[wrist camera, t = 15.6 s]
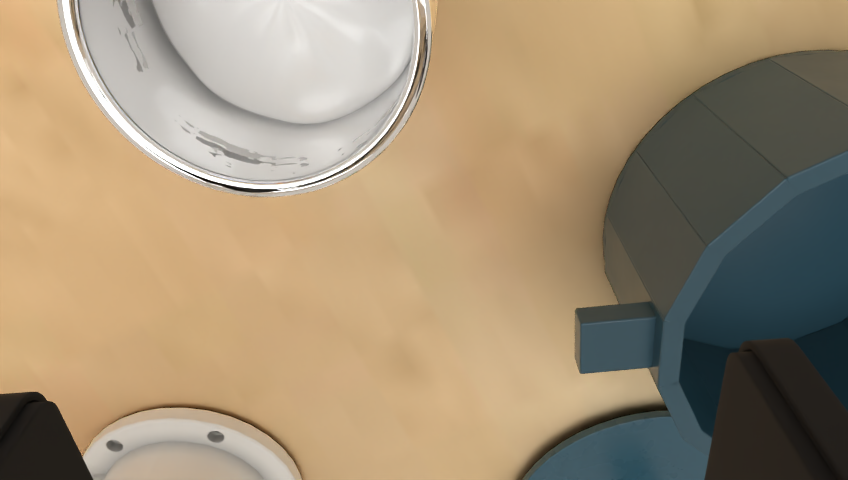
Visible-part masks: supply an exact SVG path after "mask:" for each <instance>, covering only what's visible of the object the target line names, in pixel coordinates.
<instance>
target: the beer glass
mask: <svg viewBox="0 0 848 480" xmlns="http://www.w3.org/2000/svg"><path fill="white" fill-rule="evenodd" d="M57 9H58V15H59V21H60V25H61V29H62V33H63V37H64V40H65V44H66V47H67V50H68V52H69V55H70V58H71V60H72V62H73V65H74V67H75V69H76V71H77V73H78V75H79V77H80V79H81V81H82V83H83V85H84V87H85V88H86V90H87V92H88V93H89V95H90V96H91V98H92V99H93V101H94V102H95V104H96V105H97V107H98V108H99V109H100V111H101V112H102V113H103V114H104V116H105V117H106V118H107V119H108V120H109V122H110V123H111V124H112V125H113V126H114V127H115V128H116V129H117V130H118V131H119V132H120V133H121V134H122V135H123V136H124V137H125V138H126V139H127V140H128V141H129V142H130V143H131V144H132V145H133V146H135V147H136V148H137V149H138V150H140V151H141V152H142V153H143V154H145V155H146V156H147V157H149V158H150V159H151V160H153V161H154V162H156V163H157V164H159V165H161V166H162V167H164V168H166V169H167V170H169V171H171V172H173V173H174V174H176V175H178V176H180V177H182V178H185V179H187V180H189V181H191V182H194V183H196V184H199V185H202V186H204V187H207V188H211V189H214V190H217V191H221V192H225V193H230V194H235V195H242V196H250V197H285V196H293V195H299V194H304V193H309V192H313V191H316V190H320V189H323V188H326V187H328V186H331V185H333V184H336V183H338V182H340V181H342V180H344V179H346V178H348V177H350V176H352V175H353V174H355V173H357V172H358V171H360V170H361V169H363V168H364V167H365V166H367V165H368V164H369V163H371V162H372V161H373V160H374V159H376V158H377V157H378V156H379V155H380V154H381V153H382V152H383V151H384V150H385V149H386V148H387V147H388V146H389V145H390V144H391V143H392V142H393V140H394V139H395V138H396V137H397V135H398V134H399V133H400V131H401V130H402V129H403V127H404V126H405V124H406V123H407V121H408V119H409V118H410V116H411V114H412V112H413V110H414V108H415V106H416V104H417V102H418V100H419V97H420V95H421V92H422V89H423V86H424V83H425V80H426V76H427V72H428V68H429V62H430V56H431V48H432V40H433V35H434V30H435V24H436V16H437V0H57Z"/></svg>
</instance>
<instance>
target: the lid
mask: <svg viewBox="0 0 848 480" xmlns="http://www.w3.org/2000/svg"><path fill="white" fill-rule="evenodd" d="M708 458H709V457H708V456H706V455H705V454H704V453H702V452H701V451H699V450H698V449H696V448H695V447H693V446H692V445H690V444H689V443H687V442H686V441H684V440H683V439H682V437H681V435H680V433H679V431H678V429H677V427H676V425H675V423H674V421H673V419H672V417H671V415H670V413H669V411H668V410H667V411H652V412H645V413H638V414H633V415H628V416H624V417H620V418H615V419H612V420H609V421H606V422H603V423H600V424H597V425H595V426H593V427H590V428H588V429H586V430H583V431H581V432H579V433H577V434H575V435H573V436H572V437H570V438H568V439H566V440H565V441H563V442H561V443H560V444H558V445H557V446H556V447H554V448H553V449H551V450H550V451H549V452H547V453H546V454H545V455H544V456H543V457H542V458H541V459H539V460H538V461H537V462H536V463H535V464H534V465H533V466H532V468H531V469H530V470H529V471H528V472H527V473H526V475H525V476H524V477H523V479H522V480H704V479H705V474H706V468H707V463H708Z"/></svg>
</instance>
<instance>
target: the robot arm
mask: <svg viewBox="0 0 848 480" xmlns="http://www.w3.org/2000/svg"><path fill="white" fill-rule="evenodd" d="M0 480H302V479H301V475H300V473H299V471H298V469H297V467H296V465H295V463H294V461H293V460H292V459H291V457H290V456H289V455H288V454H287V452H286V451H285V450H284V449H283V448H282V447H281V446H280V445H279V444H278V443H277V442H275V441H274V440H273V439H272V438H271V437H269V436H268V435H267V434H265V433H263V432H262V431H260V430H258V429H257V428H255V427H253V426H252V425H250V424H248V423H245V422H243V421H240V420H238V419H235V418H233V417H231V416H227V415H224V414H220V413H216V412H212V411H208V410H200V409H192V408H159V409H153V410H147V411H141V412H138V413H135V414H132V415H129V416H126V417H124V418H121V419H119V420H118V421H116V422H114V423H112V424H111V425H109V426H107V427H106V428H104V429H103V430H102V431H101V432H100V433H99V434H98V435H97V436H96V437H95V438H94V439H93V440H92V442H91V443H90V445H89V447H88V448H87V450H86V451H85V453H84V455H83V457H82V455H81V453H80V451H79V449H78V447H77V445H76V443H75V441H74V439H73V437H72V435H71V433H70V431H69V429H68V427H67V425H66V423H65V421H64V419H63V417H62V415H61V413H60V411H59V409H58V407H57V406H56V404H55V403H53V402H51V401H47V400H46V399H45V397H44V396H43V395H42V394H40V393H39V392H24V393H10V394H0ZM704 480H848V411H847V410H846V409H845V407H844V406H843V405H842V403H841V402H840V401H839V399H838V398H837V397H836V395H835V394H834V393H833V391H832V390H831V389H830V387H829V386H828V385H827V383H826V382H825V381H824V379H823V378H822V377H821V375H820V374H819V373H818V371H817V370H816V369H815V367H814V366H813V365H812V363H811V362H810V361H809V359H808V358H807V357H806V355H805V354H804V353H803V351H802V350H801V349H800V347H799V346H798V345H797V344H796V343H795V342H794V341H793V340H792V339H789V338H779V339H765V340H751V341H745V342H743V343H742V344H741V346H740V349H739V352H735V353H730V354H729V355H728V358H727V361H726V366H725V372H724V377H723V383H722V388H721V393H720V399H719V404H718V409H717V415H716V420H715V426H714V431H713V436H712V442H711V447H710V452H709V458H708V463H707V468H706V474H705V479H704Z"/></svg>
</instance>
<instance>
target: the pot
mask: <svg viewBox="0 0 848 480" xmlns="http://www.w3.org/2000/svg"><path fill="white" fill-rule="evenodd" d="M603 253H604V260H605V274H606V276H607V278H608V280H609V282H610V285H611V287H612V289H613V291H614V293H615V296H616V298H617V300H618V302H619V304H617V305H607V306H596V307H586V308H577V309H576V310H575V360H576V363H577V366H578V369H579V372H580V373H581V374H585V373H596V372H607V371H618V370H629V369H640V368H648V369H649V371H650V373H651V375H652V377H653V380H654V382H655V384H656V386H657V388H658V390H659V392H660V394H661V396H662V398H663V401H664V403H665V405H666V407H667V409H668V411H669V413H670V415H671V417H672V419H673V421H674V423H675V425H676V427H677V429H678V431H679V433H680V435H681V437H682V439H683V440H684V441H686V442H687V443H689V444H690V445H692V446H693V447H695V448H696V449H698V450H699V451H701V452H702V453H704V454H705V455H706V456H708V457H709V452H710V447H711V442H712V436H713V431H714V426H715V420H716V415H717V409H718V404H719V399H720V393H721V388H722V383H723V377H724V372H725V366H726V361H727V358H728V355H729V354H730V353H735V352H739V349H740V346H741V344H742V343H743V342H745V341H751V340H765V339H779V338H789V339H792V340H793V341H794V342H795V343H796V344H797V345H798V346H799V347H800V349H801V350H802V351H803V353H804V354H805V355H806V357H807V358H808V359H809V361H810V362H811V363H812V365H813V366H814V367H815V369H816V370H817V371H818V373H819V374H820V375H821V377H822V378H823V379H824V381H825V382H826V383H827V385H828V386H829V387H830V389H831V390H832V391H833V393H834V394H835V395H836V397H837V398H838V399H839V401H840V402H841V403H842V405H843V406H844V407H845V409H846V410H847V411H848V50H846V51H832V50H820V51H801V52H796V53H790V54H784V55H778V56H774V57H771V58H767V59H764V60H761V61H757V62H754V63H750V64H748V65H746V66H743V67H741V68H739V69H736V70H734V71H731V72H729V73H727V74H725V75H723V76H721V77H719V78H717V79H716V80H714V81H712V82H710V83H708V84H707V85H705V86H703V87H701V88H700V89H698V90H697V91H696V92H694V93H693V94H691V95H690V96H689V97H687V98H686V99H684V100H683V101H681V102H680V103H679V104H678V105H677V106H675V107H674V108H673V109H672V110H671V111H670V112H669V113H667V114H666V115H665V116H664V117H663V118H662V119H661V120H660V121H659V122H658V123H657V124H656V125H655V126H654V127H653V128H652V129H651V131H650V132H649V133H648V134H647V135H646V136H645V137H644V138H643V140H642V141H641V142H640V144H639V145H638V146H637V148H636V149H635V151H634V152H633V153H632V155H631V156H630V158H629V159H628V161H627V163H626V165H625V166H624V168H623V170H622V172H621V174H620V175H619V177H618V179H617V182H616V184H615V187H614V189H613V192H612V194H611V197H610V200H609V204H608V208H607V212H606V216H605V221H604V231H603Z"/></svg>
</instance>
